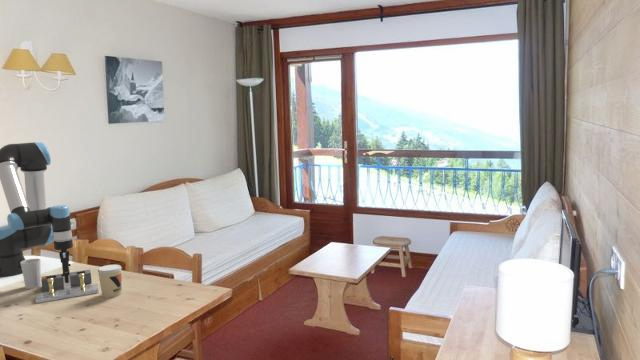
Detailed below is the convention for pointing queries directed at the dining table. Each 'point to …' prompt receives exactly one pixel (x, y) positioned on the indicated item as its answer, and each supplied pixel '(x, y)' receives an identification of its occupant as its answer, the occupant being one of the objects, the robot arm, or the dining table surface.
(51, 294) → the grey plate brass knobs
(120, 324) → the dining table surface
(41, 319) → the dining table surface
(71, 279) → the grey rectangular block
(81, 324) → the dining table surface
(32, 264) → the cup
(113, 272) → the coffee cup
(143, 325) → the dining table surface
